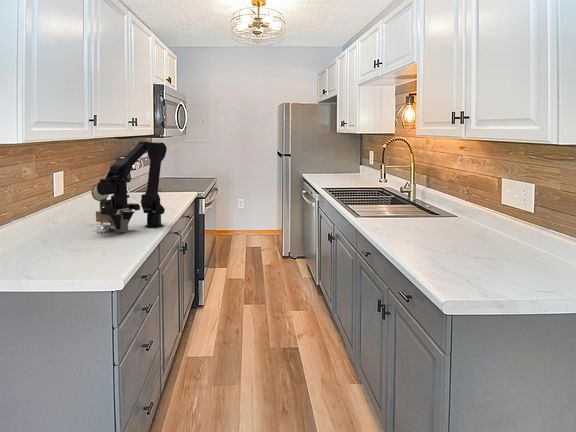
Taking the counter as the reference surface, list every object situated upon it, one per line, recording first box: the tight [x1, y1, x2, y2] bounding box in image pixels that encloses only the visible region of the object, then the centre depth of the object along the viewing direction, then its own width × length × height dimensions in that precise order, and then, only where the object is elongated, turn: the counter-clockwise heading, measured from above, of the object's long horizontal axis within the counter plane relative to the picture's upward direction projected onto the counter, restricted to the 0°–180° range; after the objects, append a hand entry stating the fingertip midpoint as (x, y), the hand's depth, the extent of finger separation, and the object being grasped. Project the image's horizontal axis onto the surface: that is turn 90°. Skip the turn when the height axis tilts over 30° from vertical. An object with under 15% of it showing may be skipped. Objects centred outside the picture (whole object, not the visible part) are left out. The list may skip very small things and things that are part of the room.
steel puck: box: [96, 225, 110, 234], centre depth 240 cm, size 5×5×2 cm
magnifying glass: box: [91, 183, 110, 225], centre depth 257 cm, size 9×2×20 cm, turn 132°
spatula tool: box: [102, 219, 129, 233], centre depth 240 cm, size 4×13×5 cm, turn 57°
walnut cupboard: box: [95, 210, 123, 226], centre depth 246 cm, size 11×8×9 cm
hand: (121, 228), depth 238 cm, fingers closed on spatula tool, 4 cm apart
